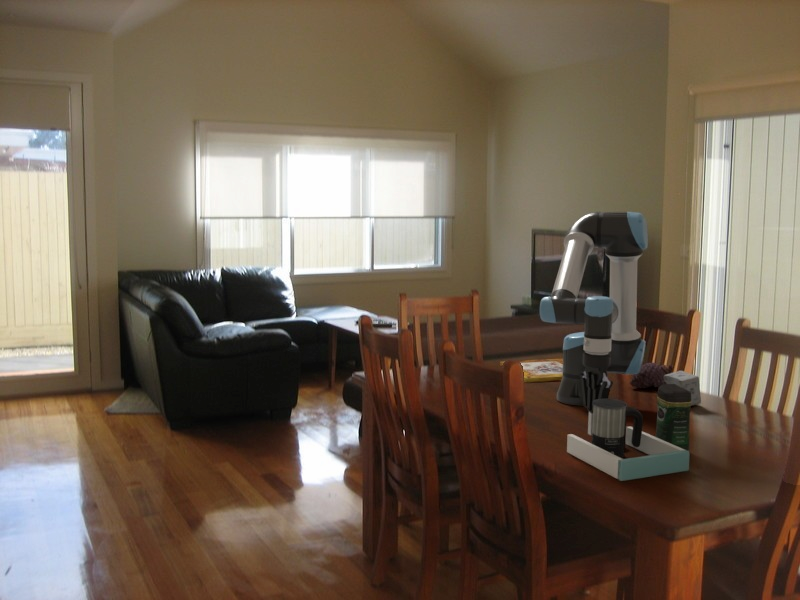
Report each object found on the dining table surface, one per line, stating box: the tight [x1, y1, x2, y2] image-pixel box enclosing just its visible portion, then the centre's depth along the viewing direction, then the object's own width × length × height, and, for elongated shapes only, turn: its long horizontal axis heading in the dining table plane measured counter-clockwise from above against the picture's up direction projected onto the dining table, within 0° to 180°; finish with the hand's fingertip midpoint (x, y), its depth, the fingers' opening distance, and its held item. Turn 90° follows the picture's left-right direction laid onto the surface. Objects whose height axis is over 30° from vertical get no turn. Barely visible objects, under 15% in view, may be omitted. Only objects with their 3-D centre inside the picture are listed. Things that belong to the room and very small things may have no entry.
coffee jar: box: [655, 384, 691, 452], centre depth 233 cm, size 10×8×19 cm
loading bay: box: [566, 426, 690, 482], centre depth 226 cm, size 24×21×5 cm
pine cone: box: [629, 362, 675, 389], centre depth 306 cm, size 18×10×10 cm
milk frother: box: [590, 398, 644, 459], centre depth 233 cm, size 14×16×15 cm
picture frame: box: [499, 358, 563, 383], centre depth 332 cm, size 27×2×30 cm
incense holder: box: [664, 370, 702, 406], centre depth 283 cm, size 10×8×10 cm
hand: (593, 434), depth 239 cm, fingers closed
